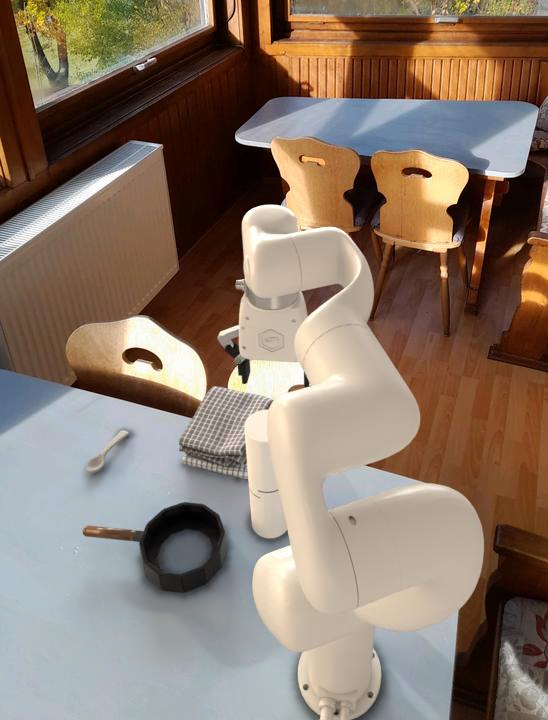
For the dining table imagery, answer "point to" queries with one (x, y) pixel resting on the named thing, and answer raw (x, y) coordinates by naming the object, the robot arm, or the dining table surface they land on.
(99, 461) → the spoon
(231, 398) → the towel
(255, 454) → the cylindrical container
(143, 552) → the pan
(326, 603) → the robot arm
